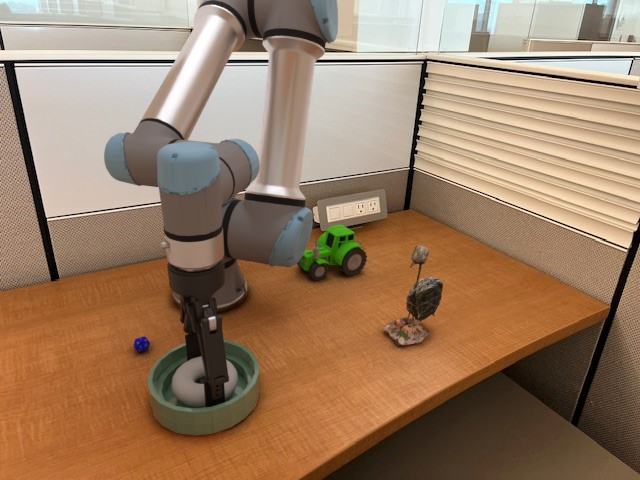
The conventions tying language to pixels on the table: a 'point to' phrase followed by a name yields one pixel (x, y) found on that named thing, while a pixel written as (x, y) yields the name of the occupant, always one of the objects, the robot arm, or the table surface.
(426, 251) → the stacked rock sculpture
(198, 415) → the green ribbed bowl
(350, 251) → the toy tractor
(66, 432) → the table surface
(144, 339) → the die
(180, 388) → the donut
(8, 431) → the table surface
